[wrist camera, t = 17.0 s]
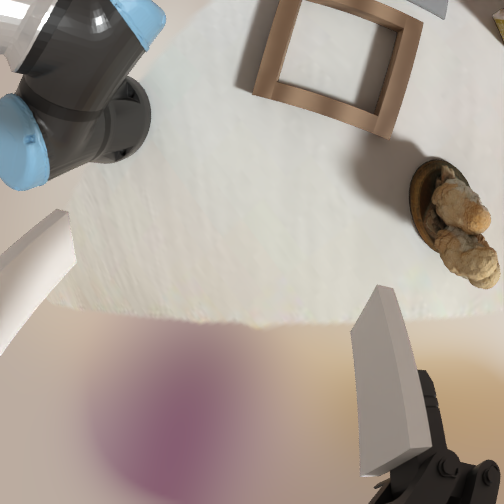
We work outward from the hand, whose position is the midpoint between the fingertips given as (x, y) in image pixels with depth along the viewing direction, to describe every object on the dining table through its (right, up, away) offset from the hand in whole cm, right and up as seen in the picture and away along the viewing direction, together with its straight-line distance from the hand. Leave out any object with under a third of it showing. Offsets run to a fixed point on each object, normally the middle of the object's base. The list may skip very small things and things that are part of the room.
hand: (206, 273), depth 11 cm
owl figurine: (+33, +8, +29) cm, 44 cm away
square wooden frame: (+14, +28, +21) cm, 37 cm away
